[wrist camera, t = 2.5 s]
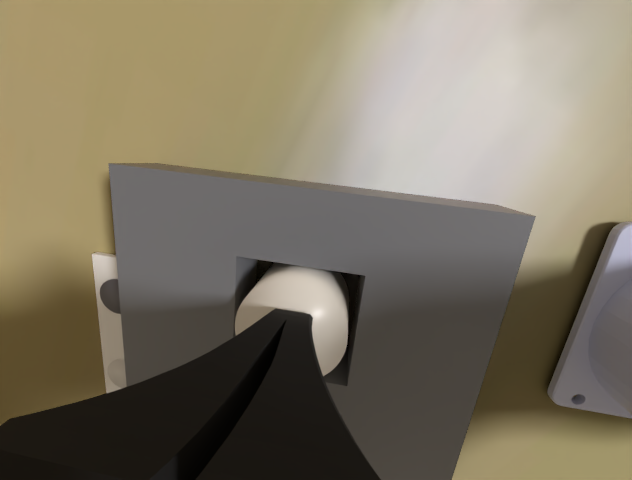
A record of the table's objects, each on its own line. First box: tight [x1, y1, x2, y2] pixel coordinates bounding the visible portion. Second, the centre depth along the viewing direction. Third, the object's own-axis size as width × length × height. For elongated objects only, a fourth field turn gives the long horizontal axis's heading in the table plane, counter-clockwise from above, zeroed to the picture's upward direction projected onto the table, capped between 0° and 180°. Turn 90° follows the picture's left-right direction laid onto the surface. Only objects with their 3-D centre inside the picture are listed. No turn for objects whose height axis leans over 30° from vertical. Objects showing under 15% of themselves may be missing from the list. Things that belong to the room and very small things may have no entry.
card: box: [92, 252, 127, 393], centre depth 15 cm, size 2×13×1 cm, turn 173°
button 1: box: [235, 262, 349, 376], centre depth 12 cm, size 4×4×3 cm
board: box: [109, 163, 536, 480], centre depth 14 cm, size 14×22×2 cm, turn 173°
